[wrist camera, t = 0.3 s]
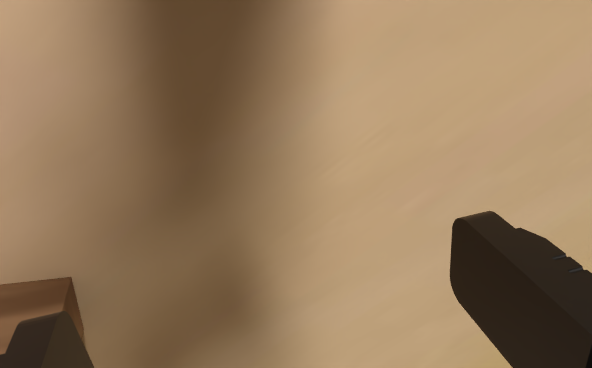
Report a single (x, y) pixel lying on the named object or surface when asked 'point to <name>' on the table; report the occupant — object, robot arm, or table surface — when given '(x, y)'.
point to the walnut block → (35, 304)
